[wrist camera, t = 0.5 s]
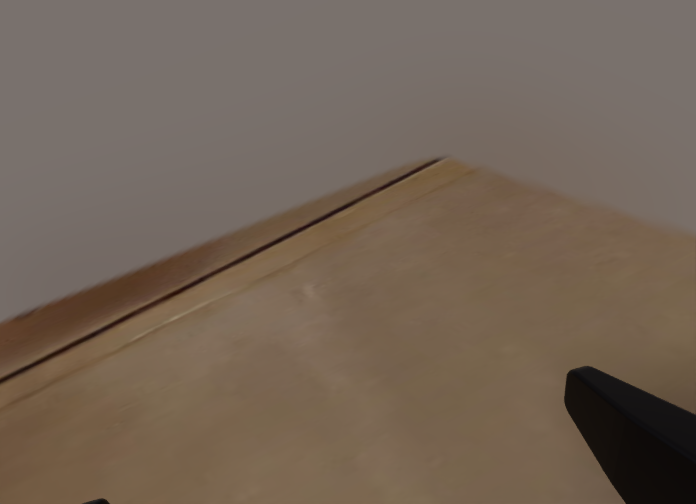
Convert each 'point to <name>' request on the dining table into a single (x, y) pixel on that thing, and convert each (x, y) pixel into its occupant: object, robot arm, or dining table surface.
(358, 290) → the dining table surface
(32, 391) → the dining table surface
